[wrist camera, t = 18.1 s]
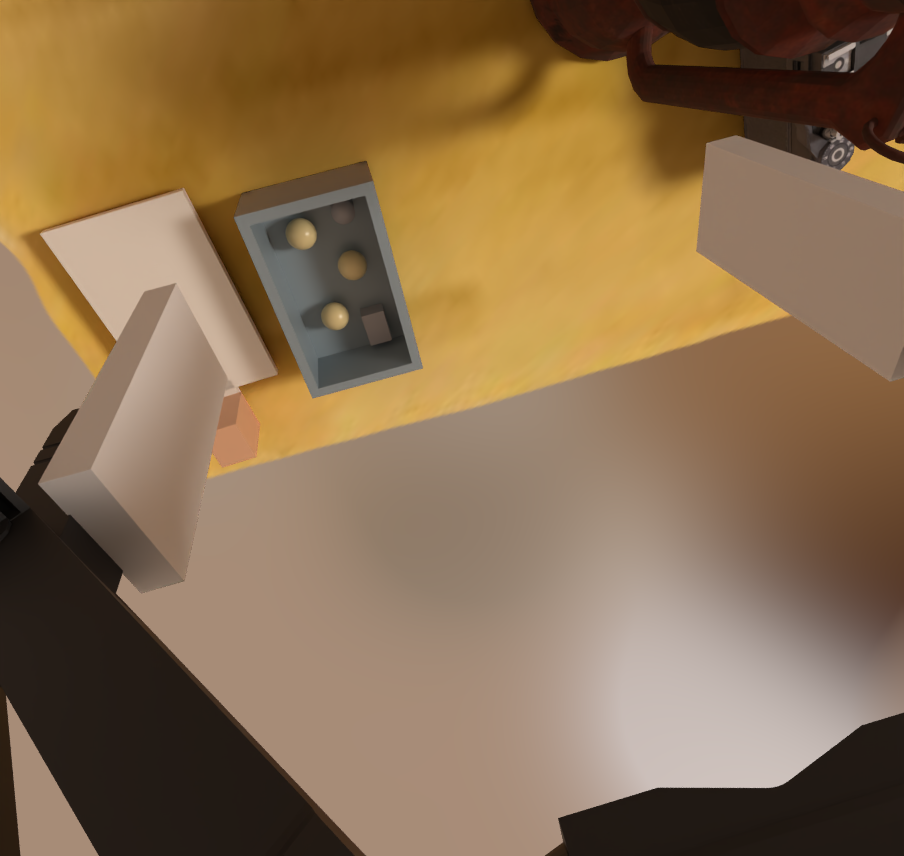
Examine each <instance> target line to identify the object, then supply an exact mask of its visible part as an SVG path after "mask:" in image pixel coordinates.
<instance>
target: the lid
mask: <svg viewBox="0 0 904 856" xmlns="http://www.w3.org/2000/svg"><path fill="white" fill-rule="evenodd" d="M40 235H41V236H42V238H43V239H44V240H45V242H46V243H47V245H48V246H49V247H50V249H51V250H52V252H53V253H54V254H55V256H56V257H57V259H58V260H59V261H60V263H61V264H62V266H63V267H64V268H65V270H66V271H67V273H68V274H69V275H70V277H71V278H72V280H73V281H74V282H75V284H76V285H77V287H78V288H79V289H80V291H81V292H82V294H83V295H84V296H85V298H86V299H87V301H88V302H89V303H90V305H91V306H92V308H93V309H94V310H95V312H96V313H97V315H98V316H99V317H100V319H101V320H102V322H103V323H104V324H105V326H106V327H107V329H108V330H109V331H110V333H111V334H112V336H113V337H114V338H115V340H116V341H117V340H118V338H119V336H120V334H121V333H122V331H123V329H124V327H125V325H126V324H127V322H128V320H129V318H130V316H131V315H132V313H133V311H134V309H135V307H136V305H137V304H138V302H139V300H140V298H141V296H142V295H143V293H144V291H148V290H152V289H155V288H159V287H163V286H167V285H171V284H174V283H177V285H178V287H179V289H180V291H181V293H182V294H183V296H184V298H185V300H186V302H187V304H188V305H189V307H190V309H191V311H192V313H193V315H194V317H195V318H196V320H197V322H198V324H199V326H200V328H201V329H202V331H203V333H204V335H205V337H206V339H207V341H208V342H209V344H210V346H211V348H212V350H213V352H214V353H215V355H216V357H217V359H218V361H219V363H220V365H221V366H222V368H223V370H224V372H225V374H226V376H227V377H228V380H227V384H226V389H225V394H224V398H223V403H222V408H221V412H220V417H219V422H218V426H217V431H216V436H215V441H214V445H213V450H212V453H213V455H214V456H215V458H216V459H217V460H218V462H219V463H220V465H221V466H222V467H226V466H229V465H232V464H235V463H239V462H242V461H245V460H248V459H251V458H255V457H256V456H257V447H258V438H259V429H260V423H259V421H258V420H257V418H256V416H255V415H254V413H253V411H252V409H251V408H250V406H249V404H248V403H247V401H246V399H245V397H244V396H243V394H242V392H241V391H240V389H239V386H242V385H245V384H249V383H252V382H255V381H258V380H262V379H265V378H268V377H271V376H275V375H278V369H277V367H276V365H275V363H274V361H273V359H272V357H271V355H270V353H269V351H268V349H267V348H266V346H265V344H264V342H263V340H262V338H261V336H260V334H259V332H258V330H257V328H256V326H255V324H254V322H253V320H252V319H251V317H250V315H249V313H248V311H247V309H246V307H245V305H244V303H243V301H242V299H241V297H240V295H239V293H238V291H237V290H236V288H235V286H234V284H233V282H232V280H231V278H230V276H229V274H228V272H227V270H226V268H225V266H224V264H223V262H222V261H221V259H220V257H219V255H218V253H217V251H216V249H215V247H214V245H213V243H212V241H211V239H210V237H209V235H208V233H207V232H206V230H205V228H204V226H203V224H202V222H201V220H200V218H199V216H198V214H197V212H196V210H195V208H194V206H193V204H192V203H191V201H190V199H189V197H188V195H187V193H186V191H185V189H184V188H181V189H178V190H175V191H171V192H168V193H165V194H161V195H158V196H155V197H152V198H148V199H145V200H142V201H138V202H135V203H132V204H128V205H125V206H122V207H119V208H115V209H112V210H109V211H105V212H102V213H99V214H95V215H92V216H89V217H85V218H82V219H79V220H76V221H72V222H69V223H66V224H62V225H59V226H56V227H52V228H49V229H46V230H43V231H42V232H41V233H40Z"/></svg>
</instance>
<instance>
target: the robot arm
mask: <svg viewBox="0 0 904 856" xmlns="http://www.w3.org/2000/svg"><path fill="white" fill-rule="evenodd" d="M696 251H697V252H698V253H700V254H701V255H703V256H704V257H706V258H707V259H709V260H710V261H712V262H713V263H715V264H716V265H718V266H719V267H721V268H722V269H724V270H725V271H727V272H728V273H730V274H731V275H733V276H734V277H736V278H737V279H739V280H740V281H742V282H743V283H744V284H746V285H747V286H749V287H750V288H752V289H753V290H755V291H756V292H758V293H759V294H761V295H762V296H764V297H765V298H767V299H768V300H770V301H771V302H773V303H774V304H776V305H777V306H779V307H780V308H782V309H783V310H785V311H786V312H788V313H789V314H791V315H792V316H793V317H795V318H796V319H798V320H799V321H801V322H802V323H804V324H805V325H807V326H808V327H810V328H811V329H813V330H814V331H816V332H817V333H819V334H820V335H822V336H823V337H825V338H826V339H828V340H829V341H831V342H832V343H834V344H835V345H837V346H838V347H840V348H841V349H843V350H844V351H846V352H847V353H848V354H850V355H851V356H853V357H855V358H856V359H857V360H859V361H860V362H862V363H863V364H865V365H866V366H868V367H869V368H871V369H872V370H874V371H875V372H877V373H878V374H880V375H881V376H883V377H884V378H886V379H887V380H889V381H894V380H897V379H901V378H904V192H903V191H900V190H897V189H894V188H891V187H888V186H885V185H882V184H879V183H876V182H873V181H870V180H867V179H864V178H861V177H858V176H856V175H853V174H850V173H847V172H844V171H841V170H838V169H835V168H832V167H829V166H826V165H823V164H820V163H817V162H814V161H811V160H808V159H805V158H802V157H799V156H796V155H793V154H790V153H787V152H785V151H782V150H779V149H776V148H773V147H770V146H767V145H764V144H761V143H758V142H755V141H752V140H749V139H746V138H743V137H740V136H737V135H735V136H731V137H727V138H724V139H720V140H716V141H712V142H709V143H706V153H705V164H704V175H703V185H702V196H701V207H700V218H699V229H698V240H697V250H696ZM227 380H228V377H227V376H226V374H225V372H224V370H223V368H222V366H221V365H220V363H219V361H218V359H217V357H216V355H215V353H214V352H213V350H212V348H211V346H210V344H209V342H208V341H207V339H206V337H205V335H204V333H203V331H202V329H201V328H200V326H199V324H198V322H197V320H196V318H195V317H194V315H193V313H192V311H191V309H190V307H189V305H188V304H187V302H186V300H185V298H184V296H183V294H182V293H181V291H180V289H179V287H178V285H177V283H174V284H171V285H167V286H163V287H159V288H155V289H152V290H148V291H144V293H143V295H142V296H141V298H140V300H139V302H138V304H137V305H136V307H135V309H134V311H133V313H132V315H131V316H130V318H129V320H128V322H127V324H126V325H125V327H124V329H123V331H122V333H121V334H120V336H119V338H118V340H117V342H116V343H115V345H114V347H113V349H112V351H111V352H110V354H109V356H108V358H107V360H106V362H105V363H104V365H103V367H102V369H101V371H100V372H99V374H98V376H97V378H96V380H95V381H94V383H93V385H92V387H91V389H90V390H89V392H88V394H87V396H86V398H85V400H84V401H83V403H82V405H81V407H80V408H79V409H75V410H72V411H71V412H70V413H69V414H68V415H67V416H66V417H65V418H64V419H63V420H62V421H61V422H60V423H59V424H58V425H57V426H55V427H54V428H53V430H52V431H51V433H50V435H49V437H48V438H47V440H46V442H45V443H44V445H43V450H41V451H40V452H39V454H38V455H37V457H36V459H35V460H34V464H35V465H33V466H31V467H30V469H29V471H28V472H27V474H26V476H25V478H24V479H23V481H22V482H21V484H20V486H19V488H18V489H17V491H16V493H15V492H14V491H13V490H12V489H11V488H10V487H9V486H8V485H7V484H6V483H5V482H4V481H3V480H2V479H1V478H0V856H20V847H19V836H18V824H17V813H16V802H15V791H14V781H13V770H12V759H11V747H10V736H9V726H8V714H7V703H6V696H7V697H8V699H9V700H10V703H11V704H12V706H13V708H14V709H15V711H16V713H17V715H18V716H19V718H20V720H21V722H22V723H23V725H24V727H25V728H26V730H27V732H28V734H29V736H30V737H31V739H32V741H33V742H34V744H35V746H36V748H37V749H38V751H39V753H40V755H41V756H42V758H43V760H44V762H45V763H46V765H47V766H48V768H49V770H50V772H51V774H52V775H53V777H54V779H55V781H56V782H57V784H58V786H59V788H60V789H61V791H62V793H63V794H64V796H65V798H66V800H67V801H68V803H69V805H70V807H71V808H72V810H73V812H74V814H75V815H76V817H77V819H78V820H79V822H80V824H81V826H82V827H83V829H84V831H85V833H86V834H87V836H88V838H89V839H90V841H91V843H92V845H93V846H94V848H95V850H96V851H97V853H98V855H99V856H366V855H365V854H364V853H363V852H362V851H361V850H360V849H359V848H358V847H357V846H356V845H355V844H354V843H353V842H352V841H351V840H350V839H349V838H348V837H347V836H346V834H344V832H343V831H342V830H341V829H340V828H339V827H338V826H337V825H336V824H335V823H334V822H333V821H332V820H331V819H330V818H329V817H328V816H327V814H325V812H324V811H323V810H322V809H321V808H320V807H319V806H318V805H317V804H316V803H315V802H314V801H313V800H312V799H311V798H310V797H309V796H308V795H307V793H306V792H304V790H303V789H302V788H301V787H300V786H299V785H298V784H297V783H296V782H295V781H294V780H293V779H292V778H291V777H290V776H289V775H288V774H287V772H286V771H285V770H284V769H283V768H282V767H281V766H280V765H279V764H278V763H277V762H276V761H275V760H274V759H273V758H272V757H271V756H270V755H269V754H268V753H267V752H266V751H265V749H264V748H263V747H262V746H261V745H260V744H259V743H258V742H257V741H256V740H255V739H254V738H253V737H252V736H251V735H250V734H249V733H248V732H247V731H246V729H245V728H244V727H243V726H242V725H241V724H240V723H239V722H238V721H237V720H236V719H235V718H234V717H233V716H232V715H231V714H230V713H229V712H228V711H227V709H226V708H225V707H224V706H223V705H222V704H221V703H220V702H219V701H218V700H217V699H216V698H215V697H214V696H213V695H212V694H211V693H210V692H209V691H208V690H207V689H206V687H205V686H204V685H203V684H202V683H201V682H200V681H199V680H198V679H197V678H196V677H195V676H194V675H193V674H192V673H191V672H190V671H189V670H188V668H186V667H185V665H184V664H183V663H182V662H181V661H180V660H179V659H178V658H177V657H176V656H175V655H174V654H173V653H172V652H171V651H170V650H169V649H168V647H167V646H166V645H165V644H164V643H163V642H162V641H161V640H160V639H159V638H158V637H157V636H156V635H155V634H154V633H153V632H152V631H151V630H150V629H149V628H148V626H147V625H146V624H145V623H144V622H143V621H142V620H141V619H140V618H139V617H138V616H137V615H136V614H135V613H134V612H133V611H132V610H131V609H130V608H129V607H128V606H127V604H126V603H125V602H124V601H123V600H122V599H121V598H120V597H119V596H118V595H117V594H116V591H117V588H118V585H119V582H120V579H121V576H122V574H123V575H124V576H125V577H126V578H127V579H128V580H129V581H130V582H131V583H132V584H133V585H134V586H135V587H136V588H137V589H138V590H139V592H140V593H145V592H148V591H152V590H155V589H158V588H162V587H166V586H169V585H173V584H176V583H180V582H183V581H185V576H186V571H187V567H188V562H189V558H190V553H191V548H192V543H193V539H194V534H195V530H196V525H197V520H198V515H199V511H200V506H201V501H202V496H203V492H204V487H205V483H206V478H207V473H208V469H209V464H210V459H211V455H212V450H213V445H214V441H215V436H216V431H217V426H218V422H219V417H220V412H221V408H222V403H223V398H224V394H225V389H226V384H227ZM558 820H559V824H560V829H561V834H562V838H563V843H562V844H560V845H559V846H558V847H556V848H555V849H553V850H552V851H551V852H549V853H548V854H547V855H545V856H904V713H901V714H898V715H895V716H891V717H888V718H885V719H882V720H878V721H875V722H872V723H868V724H865V725H862V726H860V727H859V728H858V729H856V730H855V731H854V732H853V733H851V734H850V735H849V736H847V737H846V738H845V739H843V740H842V741H841V742H839V743H838V744H837V745H835V746H834V747H833V748H831V749H830V750H829V751H827V752H826V753H825V754H824V755H822V756H821V757H820V758H818V759H817V760H816V761H814V762H813V763H812V764H810V765H809V766H808V767H806V768H805V769H804V770H803V771H801V772H800V773H799V774H797V775H796V776H795V777H793V778H792V779H791V780H789V781H788V782H786V783H785V784H783V785H780V786H778V787H773V788H655V789H652V790H649V791H645V792H642V793H639V794H636V795H632V796H629V797H626V798H623V799H619V800H616V801H613V802H609V803H607V804H603V805H600V806H596V807H593V808H590V809H586V810H583V811H580V812H577V813H573V814H570V815H567V816H564V817H561V818H558Z"/></svg>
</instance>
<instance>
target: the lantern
mask: <svg viewBox="0 0 904 856" xmlns="http://www.w3.org/2000/svg"><path fill="white" fill-rule="evenodd" d="M530 1H531V4H532V7H533V10H534V12H535V15H536V18H537V19H538V21H539V22H540V23H541V25H542V26H543V27H544V28H545V30H546V31H547V32H548V34H549V35H550V36H551V38H552V39H553V40H554V42H555V43H557V44H559V45H560V46H562V47H564V48H565V49H567V50H569V51H570V52H572V53H574V54H575V55H577V56H579V57H580V58H586V59H594V60H602V61H609V60H613V59H617V58H620V57H624V56H626V57H627V68H628V76H629V79H630V81H631V84H632V87H633V89H634V91H635V92H636V93H637V95H638V96H639V97H640V98H641V100H642V101H645V102H651V103H658V104H665V105H672V106H679V107H685V108H692V109H699V110H706V111H713V112H720V113H727V114H734V115H741V116H748V117H755V118H762V119H768V120H775V121H782V122H789V123H796V124H803V125H810V126H817V127H824V128H831V129H834V130H836V131H837V132H838V133H840V134H841V135H842V136H843V137H845V138H846V139H847V140H849V141H850V142H851V143H852V144H854V145H855V146H856V147H858V148H859V149H860V150H867V149H870V148H871V149H873V150H874V151H876V152H877V153H879V154H880V155H882V156H884V157H886V158H888V159H890V160H893V161H896V162H899V163H903V164H904V152H902V151H899V150H897V149H894V148H892V147H890V146H888V145H886V144H885V143H886V142H888V141H891V140H894V139H895V142H896V143H902V144H904V0H530ZM892 28H893V30H892V31H891V33H890V35H889V37H888V38H887V40H886V41H885V43H884V44H883V45H882V46H881V48H880V49H879V50H878V52H877V53H876V54H875V56H873V57H872V58H871V59H870V60H869V61H868V62H867V63H866V64H865V65H863V66H862V67H861V68H860V69H859V70H857V71H856V72H831V71H805V70H780V69H754V68H729V67H703V66H678V65H655V63H654V61H653V58H652V55H651V44H653V43H654V42H656V41H657V40H658V39H660V38H661V37H663V36H664V35H666V34H667V33H669V32H672V33H673V34H675V35H676V36H678V37H680V38H682V39H684V40H686V41H688V42H690V43H692V44H694V45H696V46H698V47H703V48H710V49H718V50H734V49H744V48H747V49H749V50H750V51H751V52H753V53H754V54H757V55H764V56H771V57H779V58H788V59H793V58H797V57H800V56H804V55H807V54H811V53H815V52H818V51H822V50H824V49H825V48H827V47H828V46H830V45H831V44H833V43H835V42H836V41H845V42H851V43H855V42H859V41H862V40H866V39H869V38H873V37H876V36H880V35H883V34H885V33H886V32H888V31H889V30H891V29H892Z"/></svg>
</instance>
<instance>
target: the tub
mask: <svg viewBox="0 0 904 856" xmlns="http://www.w3.org/2000/svg"><path fill="white" fill-rule="evenodd" d="M234 219H235V222H236V224H237V226H238V229H239V231H240V233H241V235H242V238H243V240H244V242H245V245H246V247H247V249H248V251H249V254H250V256H251V258H252V261H253V263H254V265H255V268H256V270H257V272H258V274H259V277H260V279H261V281H262V284H263V286H264V288H265V290H266V293H267V295H268V297H269V300H270V302H271V304H272V306H273V309H274V311H275V313H276V316H277V318H278V320H279V323H280V325H281V327H282V329H283V332H284V334H285V336H286V339H287V341H288V343H289V345H290V348H291V350H292V352H293V355H294V357H295V359H296V361H297V364H298V366H299V368H300V371H301V373H302V375H303V378H304V380H305V382H306V384H307V387H308V389H309V391H310V394H311V396H312V398H316V397H320V396H323V395H327V394H331V393H334V392H338V391H342V390H345V389H349V388H353V387H356V386H360V385H364V384H367V383H371V382H375V381H378V380H382V379H386V378H389V377H393V376H397V375H400V374H404V373H408V372H411V371H415V370H419V369H422V368H423V366H422V362H421V359H420V355H419V351H418V347H417V344H416V340H415V336H414V333H413V329H412V325H411V321H410V318H409V314H408V310H407V306H406V303H405V299H404V295H403V291H402V288H401V284H400V280H399V276H398V273H397V269H396V265H395V261H394V258H393V254H392V250H391V246H390V243H389V239H388V235H387V231H386V228H385V224H384V220H383V216H382V213H381V209H380V205H379V201H378V198H377V194H376V190H375V187H374V183H373V179H372V176H371V173H370V170H369V167H368V164H367V161H364V162H360V163H357V164H353V165H349V166H345V167H341V168H337V169H333V170H330V171H326V172H322V173H318V174H314V175H310V176H306V177H303V178H299V179H295V180H291V181H287V182H283V183H279V184H276V185H272V186H268V187H264V188H260V189H256V190H252V191H249V192H245V193H242V194H241V197H240V200H239V203H238V206H237V209H236V212H235V215H234Z"/></svg>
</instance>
